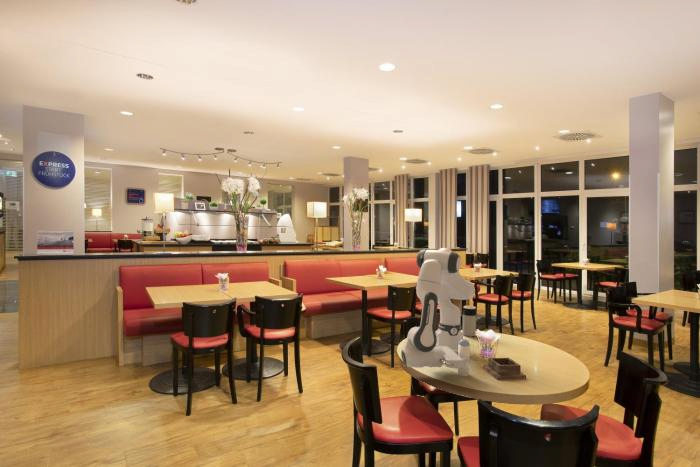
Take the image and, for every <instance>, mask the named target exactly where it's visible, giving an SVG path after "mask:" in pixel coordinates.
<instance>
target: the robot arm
mask: <svg viewBox="0 0 700 467" xmlns="http://www.w3.org/2000/svg"><path fill="white" fill-rule="evenodd" d="M416 255H417V256H416V265H417V267H418V268H419V272H418V276H417V282H416V287H415V288H416V292H415V293H416V296H417V298H418V299H419V301H420V303H421V306H422V307H421V309H422V317H421V319H420V325H419V326H414V327H411V328H410V329H409V331H408V332H407V335H406V336H407V337H406V342H405V343H404V344H405V345H404V346H403V348H402V349H401V354H400V357H401V360H402V363H403V364H404V365H405V366H406V367H408V368H418V369H419V368H420V369H421V368H425V367H428V368H442V367H443V366H445V367H447V368H450V369H458V368H463V367H464V363H466V362H469V363H471V358H470V357H469V358H468V357H465V358H464V359H463V358H461V357H459V356H458V344H459V341H460V340H462V339H464V335H463V333H462V323H461V309H460V307H458V306H457V305H456V304H454V303H452V301H451V300H460V301H464V300H465V301H466V300H471V299H473V298H474V296H475V293H476V289H475V285H474V284H473V282H471V281H469V280H468V279H466V278H464V277H463V275H462V274H461V273H460V272H459V271H460V268H461V266H462V260H461V256H460V255H459V254H458V253H457V252H454V251H453V250H451V249H450V248H448V247H441V248H439V249H428V248H424V249H420V250H419V251H418V253H417V254H416ZM438 307H439V308H438ZM437 309H440V322H439V329H438V330H437V331H435V322H436V313H437Z"/></svg>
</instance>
